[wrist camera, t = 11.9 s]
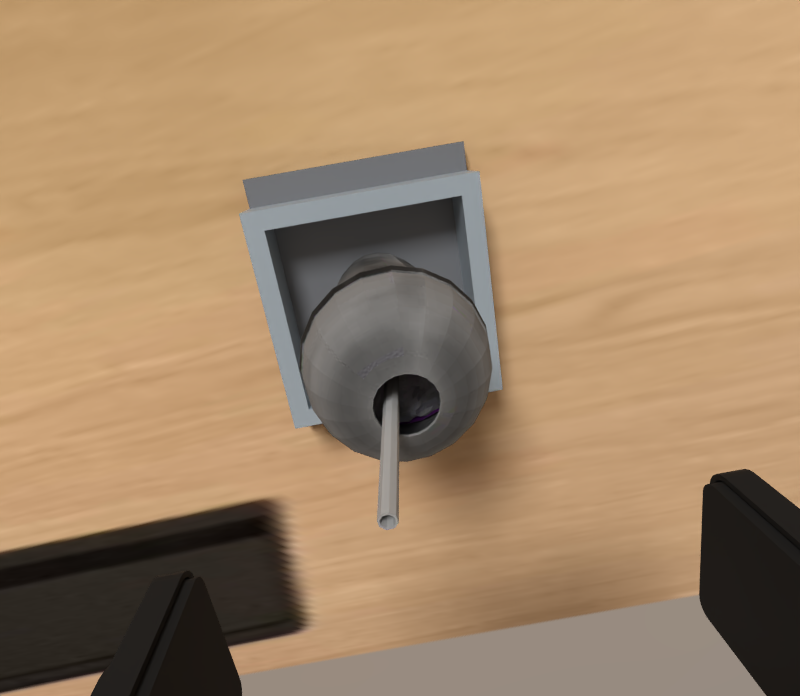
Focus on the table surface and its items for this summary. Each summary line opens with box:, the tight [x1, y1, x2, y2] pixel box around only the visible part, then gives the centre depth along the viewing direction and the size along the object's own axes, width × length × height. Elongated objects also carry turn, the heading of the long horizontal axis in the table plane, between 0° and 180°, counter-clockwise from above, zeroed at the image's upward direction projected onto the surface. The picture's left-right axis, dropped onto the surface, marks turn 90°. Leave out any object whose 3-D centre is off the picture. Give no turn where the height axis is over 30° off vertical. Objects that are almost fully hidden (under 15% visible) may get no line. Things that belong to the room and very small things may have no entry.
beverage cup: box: [299, 252, 492, 530], centre depth 22 cm, size 7×7×20 cm
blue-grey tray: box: [239, 141, 503, 429], centre depth 30 cm, size 12×15×4 cm
